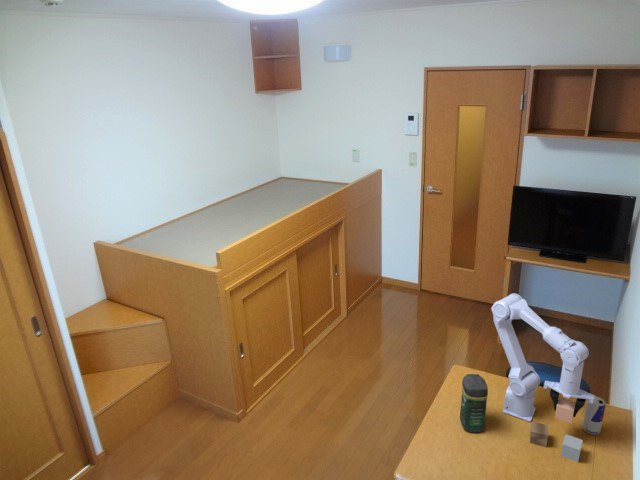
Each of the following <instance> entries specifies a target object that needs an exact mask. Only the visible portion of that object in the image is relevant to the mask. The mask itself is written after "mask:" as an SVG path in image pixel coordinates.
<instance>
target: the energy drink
mask: <svg viewBox="0 0 640 480" xmlns="http://www.w3.org/2000/svg"><path fill="white" fill-rule="evenodd" d="M605 411H606V400H604V399H603V398H601V397H600V396H596V395H595V396H594V401H593V403H590V402H589V401H587V400H586V406H585V411H584V417H583V422H582V429H583V430H584V432H586V433H588V434H589V435H594V436H595V435H599V434H600V433H601V431H602V425H603V420H604V414H605Z"/></svg>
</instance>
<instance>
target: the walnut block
mask: <svg viewBox="0 0 640 480" xmlns="http://www.w3.org/2000/svg"><path fill="white" fill-rule="evenodd" d="M548 438H549V424H546V423H540V422H537V421H532V420H531V426H530V435H529V444H533V445H537V446H539V447H544V448H547V445H548Z"/></svg>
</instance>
